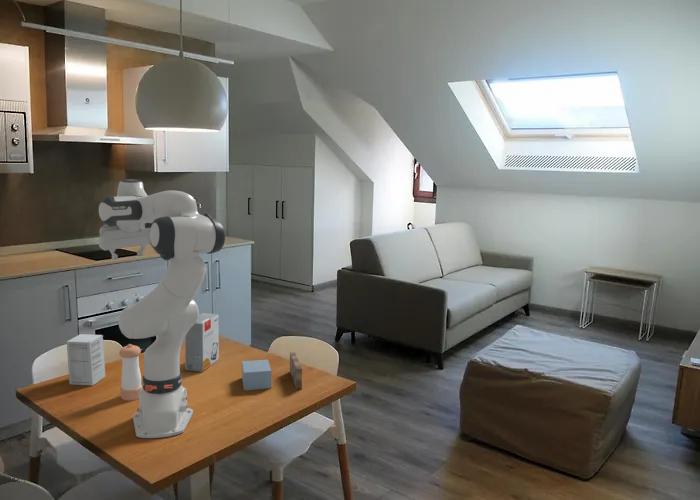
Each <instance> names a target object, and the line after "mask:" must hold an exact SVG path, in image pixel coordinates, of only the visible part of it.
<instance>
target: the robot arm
mask: <svg viewBox="0 0 700 500" xmlns="http://www.w3.org/2000/svg"><path fill="white" fill-rule="evenodd" d="M97 211H98V215H99V219H100V220H101V222H102V223H103V225H102V226H101V227H100V228H99V232H98V233H99V238H98V246H99V248H100V249H101V250H103V251H109V253H110V254H111V259H112V260H113V261H115V260H118V259H119V258H118V257H119V256H118V254H117V253H115V252H116V250H117V249H118V250H119V249H126V248H134V247H140V248H139V250H137V253H136V255H137V256H138V257H142V256H144V252H145V251H146V249H147V246H149V245H151V248H153V250H154V251H155V253H157V254H158V255H160V258H161V259H162V260H164V261H169V265H168V267H167V269H166V270H165V272H164V274H163V275H162V277H161V279H160V281H158V283H157V285H156V286H155V288H153V289H152V290H151V291H150V292H149V293H148V294H146V295H145V296H144V297H143V298H141V299H140V300H138V301H137V302H135V303H134V304H131V305H129V306H127V307H125V308H124V309H122V311H120V312H121V313H120V314H119V317H118V327H119V330H120V332H121V334H122V335H123V336H124V337H126V338H128V339H135V340H137V339H148V338H152V337H156V336H157V337H156V339H155V341H154V342H152V344H151V345H149V346H148V347H146V349H145V350H144V353H143V376H142V381H141V384H142V387H143V389H142V390H141V391H140V392H139V407H137V412H135V413H134V414H132V422H133V426H134V431H135V432H134V433H135V436H136V437H137V438H140V439H160V438H167V437H174V436H177V435H180V434H183V433H184V431H185V430H186V428H187V426H188V424H189V422H190V421H191V418H192V416H193V414H194V410H193V408H189V407H188V397H187V396H188V395H187V394H188V393H187V388H186V387H184V386H183V384H182V380H183V379H182V378H183V377H182V372H181V370H180V367H181V366H180V362H181V349H182V345H183V342H184V341H185V336H186V334H187V333H188V331H189V330H190V329H191V327H192V326H193V325H194V324H195V323H196V322H197V320H198V317H199V315H200V309H199V306H198V304H197V302H196V301H195V300H194V298H195V296H196V294H198V291H199V290H200V288H201V286H202V284H203V282H204V279H205V277H206V274H207V265H206V262H205V261H204V259H203V257H201V256H199V255H200V254H201V255H202V254H207V255H210V254H211V255H212V254H215V253H218V252H220V251H221V250H222V249H223V247H224V245H225V243H226V230H225V227H224V226H223V224H222V223H221V222H220V221H219V220H217V219H215V218H214V217H211V215H210V214H209V213H204V214H200V213H199V212H198V205H197V201H196V200H195V198H194V196H192V195H190V194H189V193H187V192H185V191H180V190H174V189H173V190H170V189H169V190H164V191H163V190H162V191H160V192H155V193H153V194H152V193H151V194H149V195H148V194H147V193H146V191H145V189H144V183H143V181H142V180H141V179H133V178H127V179H126V178H125V179H121V180H120V181H119V183H118V187H117V193H116V196H114V195H113V196H112V195H111V196H109V195H107V196H105V197H104V198H103V199H102V200H101V201H100V203H98V210H97Z"/></svg>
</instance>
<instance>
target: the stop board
mask: <svg viewBox="0 0 700 500" xmlns="http://www.w3.org/2000/svg"><path fill="white" fill-rule="evenodd" d="M289 373H290V375H291V378H292V381H293V385H294V386H295V387H294V388H295V389H296V390H302V388H303V381H302V380H303V368H302V365H301V363H300V360H299V359H298V356H297V354H296V352H295V351H293V352H289Z"/></svg>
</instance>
